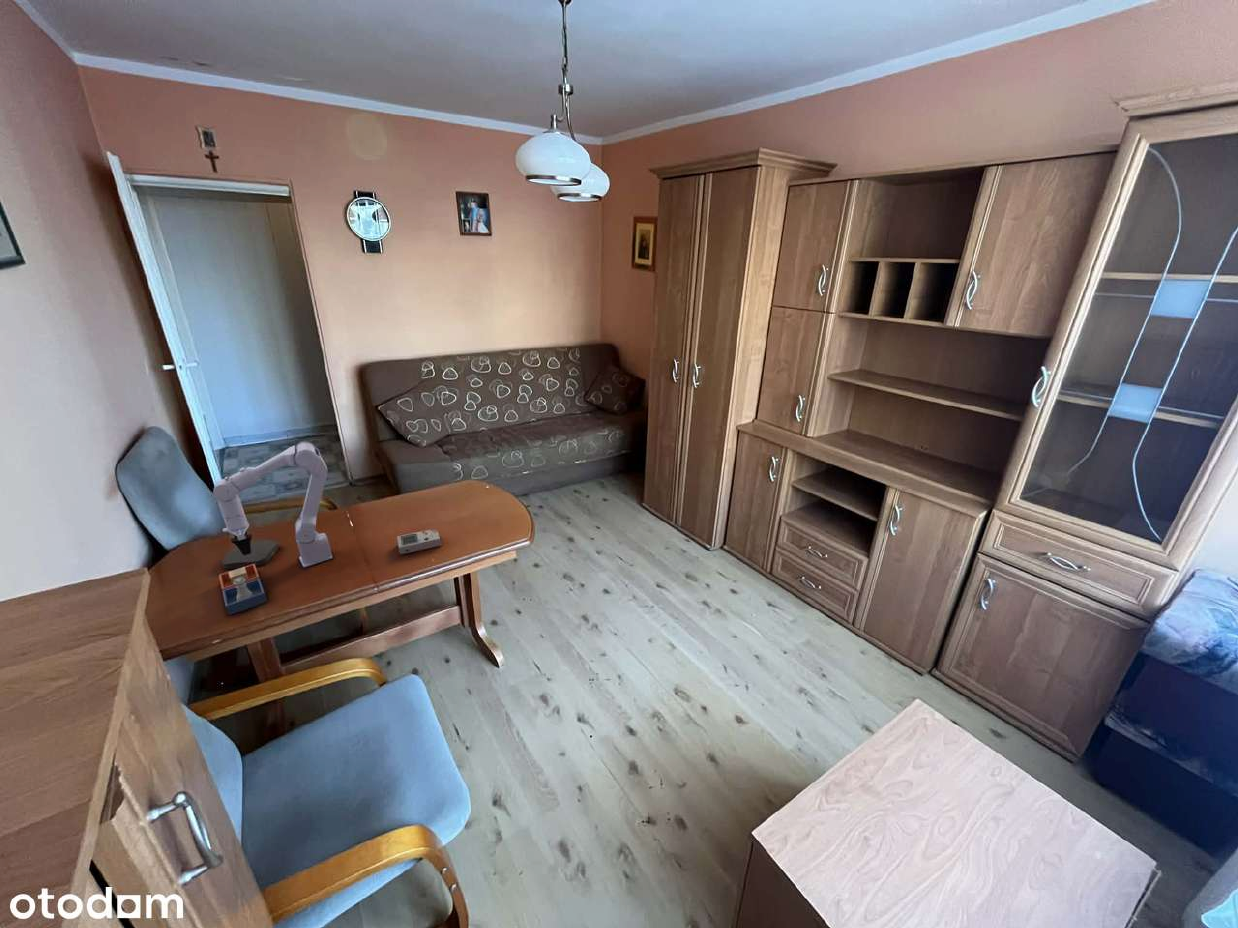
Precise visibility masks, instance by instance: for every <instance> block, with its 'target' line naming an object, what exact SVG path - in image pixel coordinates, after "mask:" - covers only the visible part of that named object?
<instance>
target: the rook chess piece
mask: <svg viewBox="0 0 1238 928" xmlns="http://www.w3.org/2000/svg"><path fill="white" fill-rule="evenodd" d="M245 580H246V579H245V578H243V577H242V578H241V577H239V578H236V580H235V579H234V582H233V584H235V585H236V586H235V587H236V588H237V591H238V594H237V601H240V600H243V599H246V598H248V597H251V596H254V595H253V593H252V592H251V591H250V590H248V588H247V587H246V583H245Z"/></svg>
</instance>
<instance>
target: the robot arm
mask: <svg viewBox="0 0 1238 928" xmlns="http://www.w3.org/2000/svg"><path fill="white" fill-rule="evenodd" d="M296 465H297V466H299V467H301V468H303V469H305V470H307V471H308V472H309V473H310V477H309V480H308V486H307V489H306V493H305V496H304V497H305V498H304V502H303V506H302V509H301V512H300V515H299V518H298V519H297V520H296V521H295V523H294V528H295V535H294V536H295V542H296V544H297V548H298V552H299V555H300V556H299V557H298V559H299V561H300V563H301V565H302V567H303V568H307V567H310V566H313V565H316V564H318V563H322V562H326V561H329V560H331V559H333V554H332V550H331V546H330V543H329V539H328V536H327V535H326V533H325V532H322V533H321V532H320V533H319V532H318V531H317V529H316V526H317V518H318V512H319V509H320V504H321V501H322V496H323V493H324V488H325V485H326V480H327V476H328V467H327V464H326V462H325V461H324V459H323V457H322V454H321V452H320V450H319V448H318V447H316V446H315V445H314V444H313V443H311V442H308V441H301V442H298V443H297V444H296V445H292V446H289V447H288V448H286V449H285V450H283V451H282V452H280V453H278V454H277V455H275V456H273V457H271V458H270V459H268V460H266V461H264V462H263V463H261V464H259V465H258V466H256V467H254V466H252V467H251V466H247V467H242V468H240V469H239V471H238V472H236V473H234V474H232V475H230V476H225V477H224V478H222V479H219V480H217V482H215V484H214V487H213V490H212V495H213V497H214V498H215V499H216V500H217V502H218V507H219V510H220V513H221V516H222V519H223V521H224V524H225V527H224V528H222V532H223V533H230V534H231V535H232V536H233V537H231V538H230V541H231V543H232V544H233V545H235V547H236V546H237V547H238V548H239V550H240V551H241V553H242V554H243V555H247V554H251V545H250V543H251V542H252V538H253V534H252V533H249V534H248V528H249V527H250V523H249V522H248V520H247V517H246V513H245V510H244V507H243V505H242V500H241V499H240V497H239V495H238V493H241V492H243V491H245V490H247V489H249V488H251V487H252V486H254V485H256V484H258V483H260V482H261V480H262V477H263V476H266V475H268V474H270V473H271V472H274V471H276V470H278V469H280V468H282V467H285V466H289V467H296Z"/></svg>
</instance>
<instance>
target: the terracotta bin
mask: <svg viewBox="0 0 1238 928" xmlns="http://www.w3.org/2000/svg"><path fill="white" fill-rule="evenodd" d="M242 568H243V567H242ZM245 570H246V573H247V576H248V579H249V580H246V581H245V583H247V582H250V581H253V580H256V579H259V578H260V575H259V572H258V569H257V566H255V564H252V565H249V566H245ZM228 572H229V571H227V572H224V573H221V574H220V573H219V574H218V580H219V582H220V587H221V588H220V589H221V591H222V590H225V589H228V588H231V587H234V586H236V585H235V584H234V585H232V582H231V580H230V576H229V573H228Z"/></svg>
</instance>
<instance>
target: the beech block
mask: <svg viewBox="0 0 1238 928" xmlns="http://www.w3.org/2000/svg"><path fill="white" fill-rule="evenodd" d="M227 572H228V573H229V576H230V580H231V582H232V585H234V584H233V582H234V579H235V580H236V578H239V577H241V578H242V577H243V578H245V579H246V580H249V579H248V576H247V573H246V570H245V567H243V568H235V569H233V570H229V571H227ZM246 580H245V581H246Z"/></svg>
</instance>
